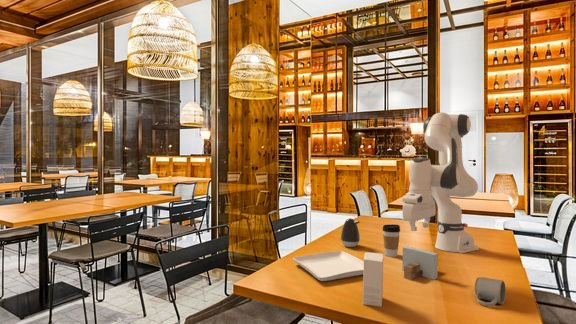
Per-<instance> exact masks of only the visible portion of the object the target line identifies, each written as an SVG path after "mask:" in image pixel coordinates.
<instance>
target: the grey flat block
mask: <svg viewBox="0 0 576 324" xmlns="http://www.w3.org/2000/svg"><path fill="white" fill-rule="evenodd" d="M438 256H439V253H436V252H433V251H428V250H424V249H420V248H416V247H412V246H407V245H406V246H403V247H402V271H403V272H404V266H405V265H408V264H410V263H413V262H414V263H417V264H420V270H423V275H422V277H423V278H427V279H430V280H436V279H438V275H439V274H438V272H439V271H438V270H439V268H438V263H439V260H438V259H439V257H438Z"/></svg>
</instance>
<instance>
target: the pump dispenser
mask: <svg viewBox="0 0 576 324" xmlns="http://www.w3.org/2000/svg"><path fill="white" fill-rule="evenodd" d="M358 224H360V221H359V220H357V221H355V220H354V218H348V219H346V220H345V222H344V224H343V226H342V229H341V232H340V240H341V243H342V245H343V246H344V247H346V248H355V247H357V246H358V245H359V243H360V241H361V236H360V230H359V227H358Z"/></svg>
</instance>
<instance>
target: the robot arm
mask: <svg viewBox="0 0 576 324" xmlns="http://www.w3.org/2000/svg"><path fill="white" fill-rule="evenodd" d="M471 127H472V122H471V119H470V117H469V116H468V115H467V114H463V113H460V114H448V113H446V112H437V113H435V114H433V115H432V116H430V117H429V116H428V117H427V118H425V120H424V121H423V125H422V129H423V133H424V142H425V144H426V145H427V146H428V148H430V149H432V150H433V151H438V163H439V164H431V159H430V158H429V157H426V156H425V157H423V156H421V157H419V156H418V157H414V158H412V159H411V160H410V163H409V168H408V181H409V186H408V192H407V193H406V194H404V195H402V197H401V201H402V202H403V204H402V218H403V221H405V222H408V223H409V226H410V231H411V232H417V230H418V229H417V226H416V221H420V220H423V219H424V220H423V223H422V227H423V228H425V229H428V228H429V224H430V221H431V217H435V216H436V210H437V209H438V211H437V213H438V221H437V234H436V241H435V245H434V248H436V249H437V250H440V251H441V250H442V251H444V252H453V253H459V254H466V253H470V252H475V251H478V250H480V247H479V246H478V245H476V244H475V239H474V237H473V236H472V235H471V234H470V233H469V232H468V231H466V230H465V228H468V227H469V225H468V223H465V222H463V223H462V217H463V216H462V214H463V213H462V208H461V207H460V205H459V204H457V203H455V202H453V201H452V199H451V197H456V198H457V197H458V198H467V197H474V196H475V195H476V194H477V192H478V188H479V185H478V182H477V181H476V179H475V178H474V177H473V176H471V175H470V174H469V173H468V172H467V171H466V168H465V166H464V163H463V142H462V138H464V136H466V135H467V134H468V133H469V132H470V130H471ZM436 205H437V209H436Z"/></svg>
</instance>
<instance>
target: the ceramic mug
mask: <svg viewBox="0 0 576 324" xmlns="http://www.w3.org/2000/svg"><path fill="white" fill-rule="evenodd" d="M474 293H475V297H476V301H477V303H478V304H480V305H481V304H482V305H481V306H483V305H485V306H484V307H486V306H490V307H493V306H495V305H496V304H499V305H504V303H505V299H506V282H505V281H504V280H502V279H495V278H489V277H485V276H484V277H483V276H482V277H481V276H480V277H477V278H476V280H475V283H474ZM480 299H481V300H480ZM483 300H485V301H488V302H485V301H483Z"/></svg>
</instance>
